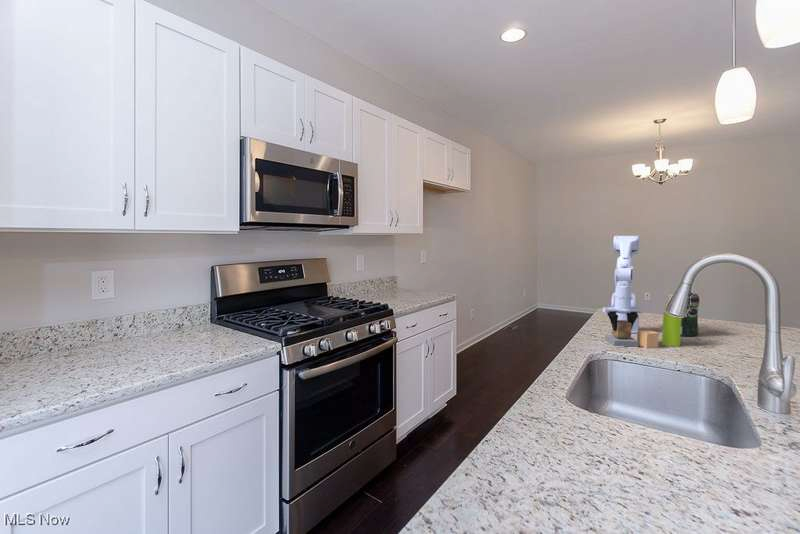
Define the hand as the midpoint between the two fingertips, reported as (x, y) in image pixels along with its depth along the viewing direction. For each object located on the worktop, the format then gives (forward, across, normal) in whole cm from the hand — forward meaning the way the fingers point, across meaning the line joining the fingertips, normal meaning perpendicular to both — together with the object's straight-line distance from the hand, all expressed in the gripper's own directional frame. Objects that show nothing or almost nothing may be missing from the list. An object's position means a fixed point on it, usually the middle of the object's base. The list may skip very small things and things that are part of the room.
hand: (621, 330), depth 156 cm
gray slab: (+6, 0, 0) cm, 6 cm away
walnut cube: (+2, 0, 0) cm, 2 cm away
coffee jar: (+6, +34, +18) cm, 39 cm away
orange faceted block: (+6, +9, -2) cm, 11 cm away
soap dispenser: (+6, +20, +2) cm, 21 cm away
